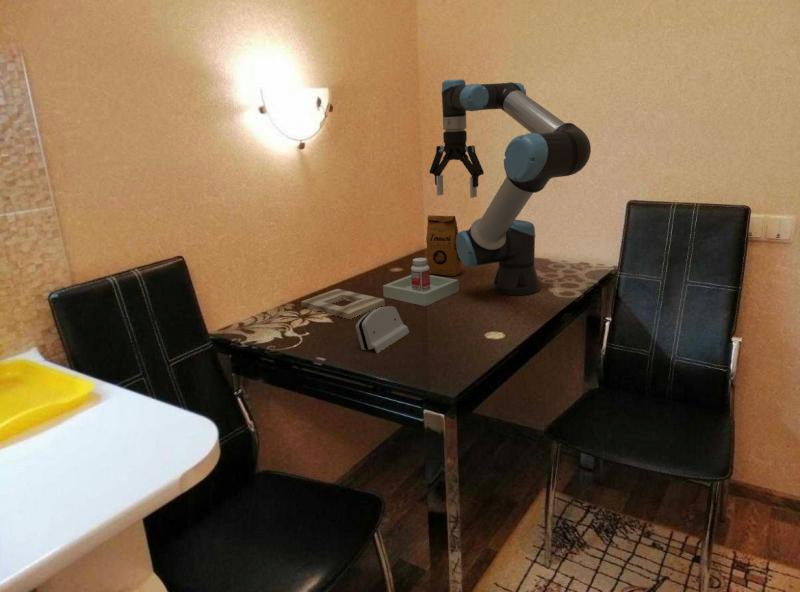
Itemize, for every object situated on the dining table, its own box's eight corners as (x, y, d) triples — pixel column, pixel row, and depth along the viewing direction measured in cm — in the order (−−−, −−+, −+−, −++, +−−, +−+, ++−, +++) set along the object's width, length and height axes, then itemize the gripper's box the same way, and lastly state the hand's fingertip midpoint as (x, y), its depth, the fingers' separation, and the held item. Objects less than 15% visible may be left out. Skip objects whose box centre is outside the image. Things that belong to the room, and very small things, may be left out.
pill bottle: (430, 288, 201) (428, 256, 197) (430, 293, 195) (429, 261, 192) (411, 288, 201) (410, 257, 198) (411, 294, 195) (410, 262, 192)
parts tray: (458, 291, 199) (458, 279, 198) (425, 306, 186) (425, 294, 185) (417, 283, 210) (416, 272, 209) (383, 297, 198) (382, 285, 196)
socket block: (384, 305, 189) (384, 299, 189) (349, 319, 178) (348, 313, 178) (337, 294, 203) (337, 288, 203) (301, 307, 192) (301, 301, 191)
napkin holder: (377, 353, 153) (363, 317, 152) (363, 356, 156) (350, 321, 154) (410, 331, 166) (398, 298, 165) (397, 334, 169) (385, 302, 168)
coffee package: (455, 278, 213) (453, 218, 207) (424, 276, 219) (421, 217, 212) (465, 271, 222) (464, 213, 215) (435, 269, 227) (432, 212, 221)
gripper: (417, 131, 196) (420, 195, 203) (480, 130, 180) (481, 199, 187) (431, 130, 202) (433, 192, 208) (494, 128, 186) (494, 196, 192)
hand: (456, 196), depth 198 cm, fingers open, 13 cm apart
